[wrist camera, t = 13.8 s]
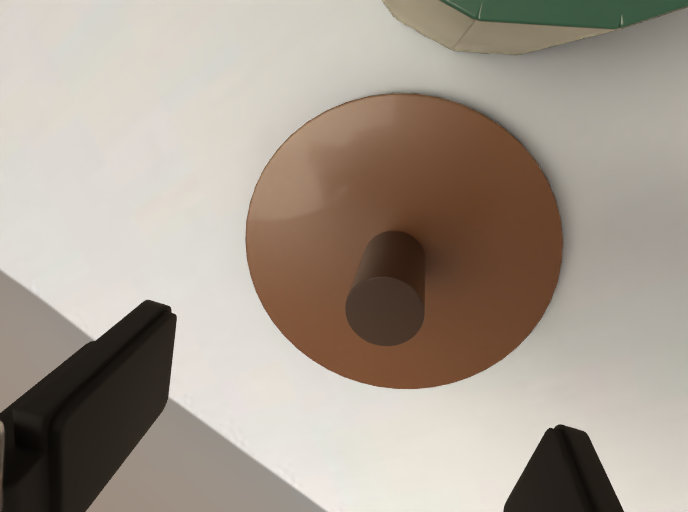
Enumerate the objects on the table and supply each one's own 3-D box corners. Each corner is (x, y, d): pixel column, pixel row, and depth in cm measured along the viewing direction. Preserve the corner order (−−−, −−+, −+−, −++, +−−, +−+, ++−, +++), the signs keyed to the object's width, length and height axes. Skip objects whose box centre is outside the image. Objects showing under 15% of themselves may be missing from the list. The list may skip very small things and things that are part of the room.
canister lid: (578, 349, 22) (631, 446, 16) (309, 393, 26) (274, 483, 20) (523, 42, 17) (568, 25, 12) (209, 149, 21) (129, 175, 16)
